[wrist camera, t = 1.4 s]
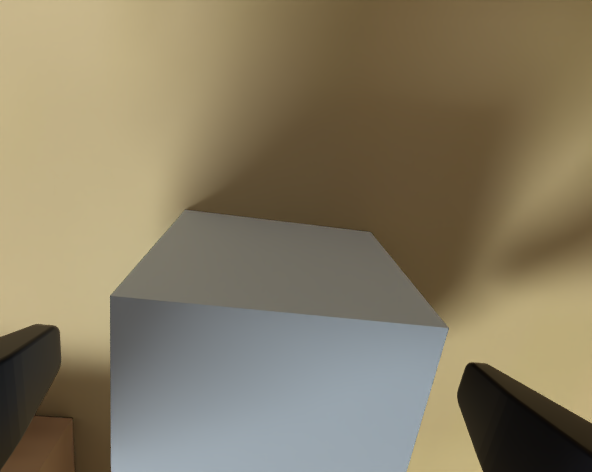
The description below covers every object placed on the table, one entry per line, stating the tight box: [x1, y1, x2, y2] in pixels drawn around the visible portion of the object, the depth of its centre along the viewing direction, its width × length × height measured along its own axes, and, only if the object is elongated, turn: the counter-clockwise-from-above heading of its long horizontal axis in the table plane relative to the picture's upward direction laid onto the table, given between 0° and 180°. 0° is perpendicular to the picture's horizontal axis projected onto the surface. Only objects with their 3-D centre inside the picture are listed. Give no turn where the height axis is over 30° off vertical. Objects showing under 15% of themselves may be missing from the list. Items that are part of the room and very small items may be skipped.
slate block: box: [110, 210, 449, 472], centre depth 9 cm, size 5×5×5 cm
